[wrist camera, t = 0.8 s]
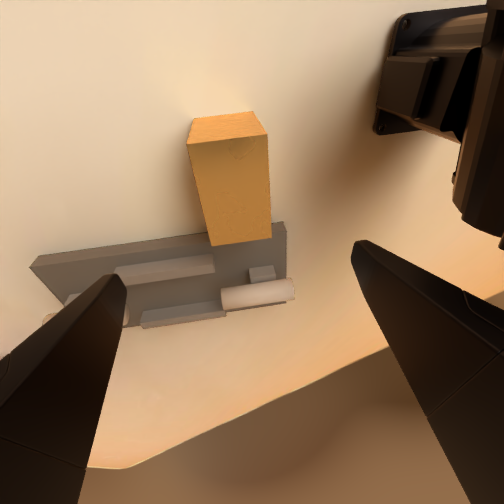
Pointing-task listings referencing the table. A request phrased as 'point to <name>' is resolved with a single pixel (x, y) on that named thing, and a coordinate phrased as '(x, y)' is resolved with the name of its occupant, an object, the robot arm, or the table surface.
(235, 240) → the block
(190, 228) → the table surface
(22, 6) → the table surface
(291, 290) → the shaft stand
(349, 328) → the table surface
